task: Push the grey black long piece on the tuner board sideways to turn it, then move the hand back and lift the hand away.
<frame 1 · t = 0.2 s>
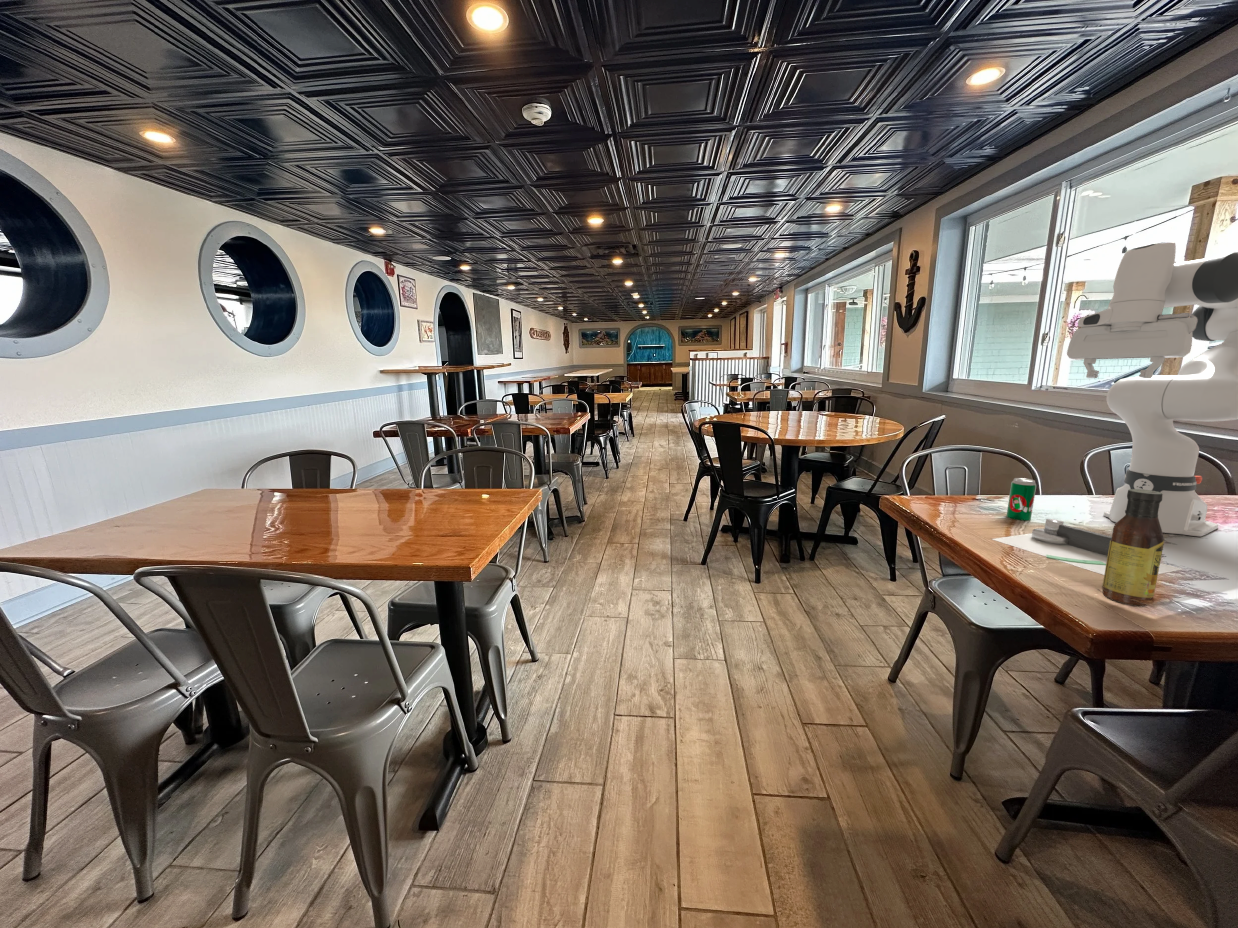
hand: (1117, 378, 110), 39 cm above the table, tool pointing down, fingers open, 8 cm apart
grey black long piece: (1075, 536, 104), point 4 cm above the table, hinge at 0.0°
soda can: (1017, 523, 127), on the table
tuner board: (1077, 559, 102), on the table
sauce bottle: (1124, 600, 84), on the table
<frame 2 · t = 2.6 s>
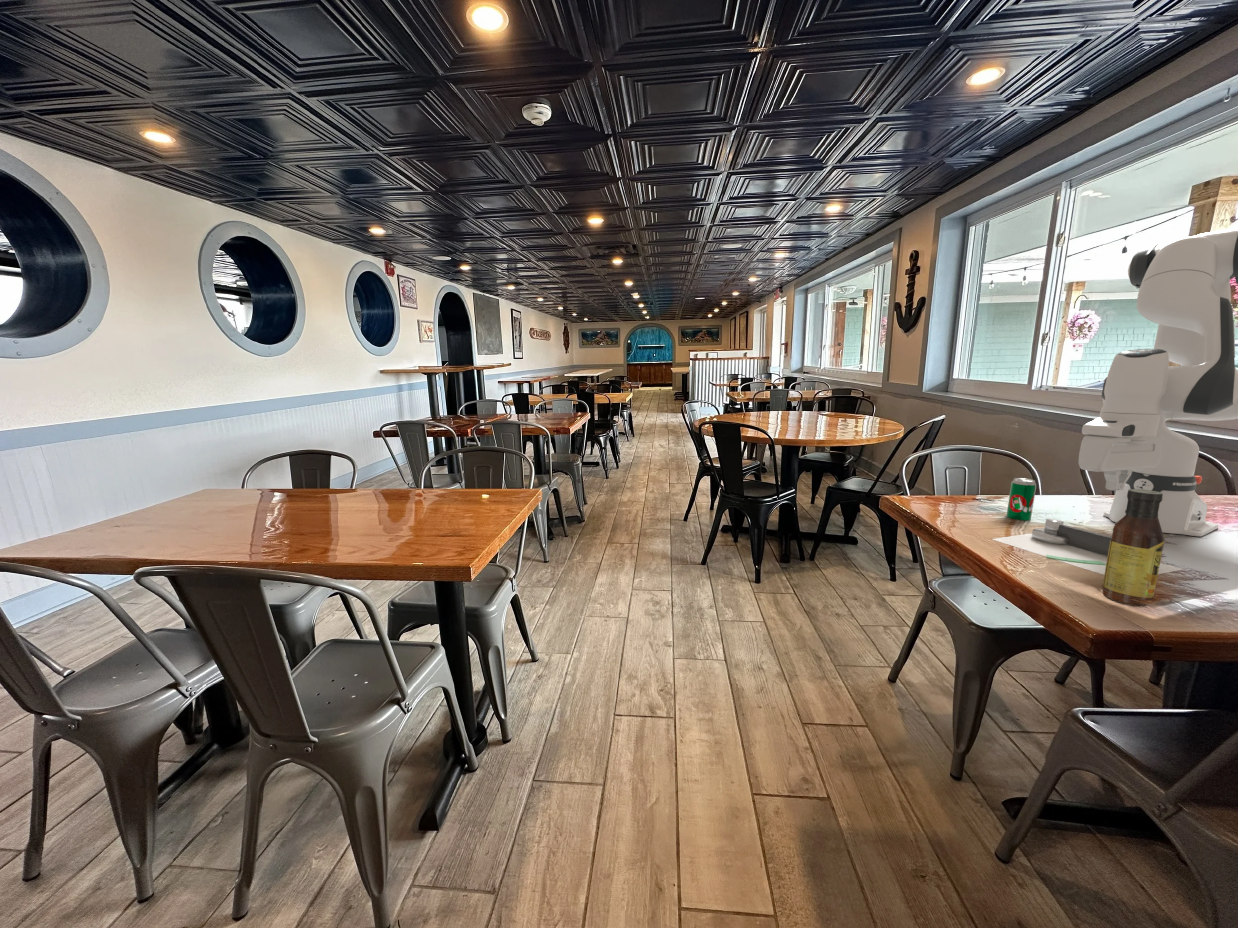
hand: (1114, 489, 103), 15 cm above the table, tool pointing down, fingers closed
nothing on the table moved.
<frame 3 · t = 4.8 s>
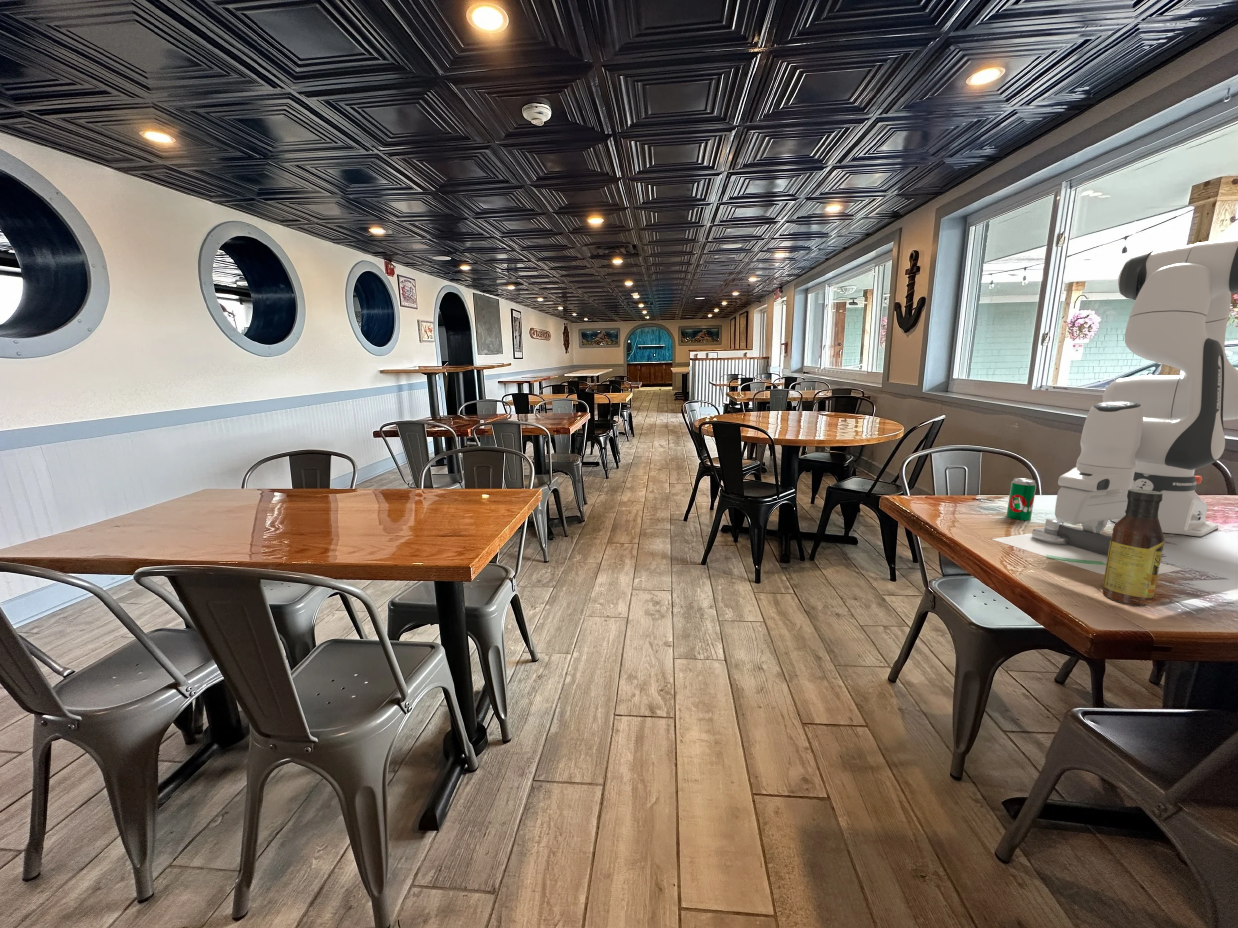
hand: (1091, 539, 103), 4 cm above the table, tool pointing down, fingers closed, pressing on grey black long piece
grey black long piece: (1075, 536, 104), point 4 cm above the table, hinge at 0.0°, touching gripper
everything else where it was.
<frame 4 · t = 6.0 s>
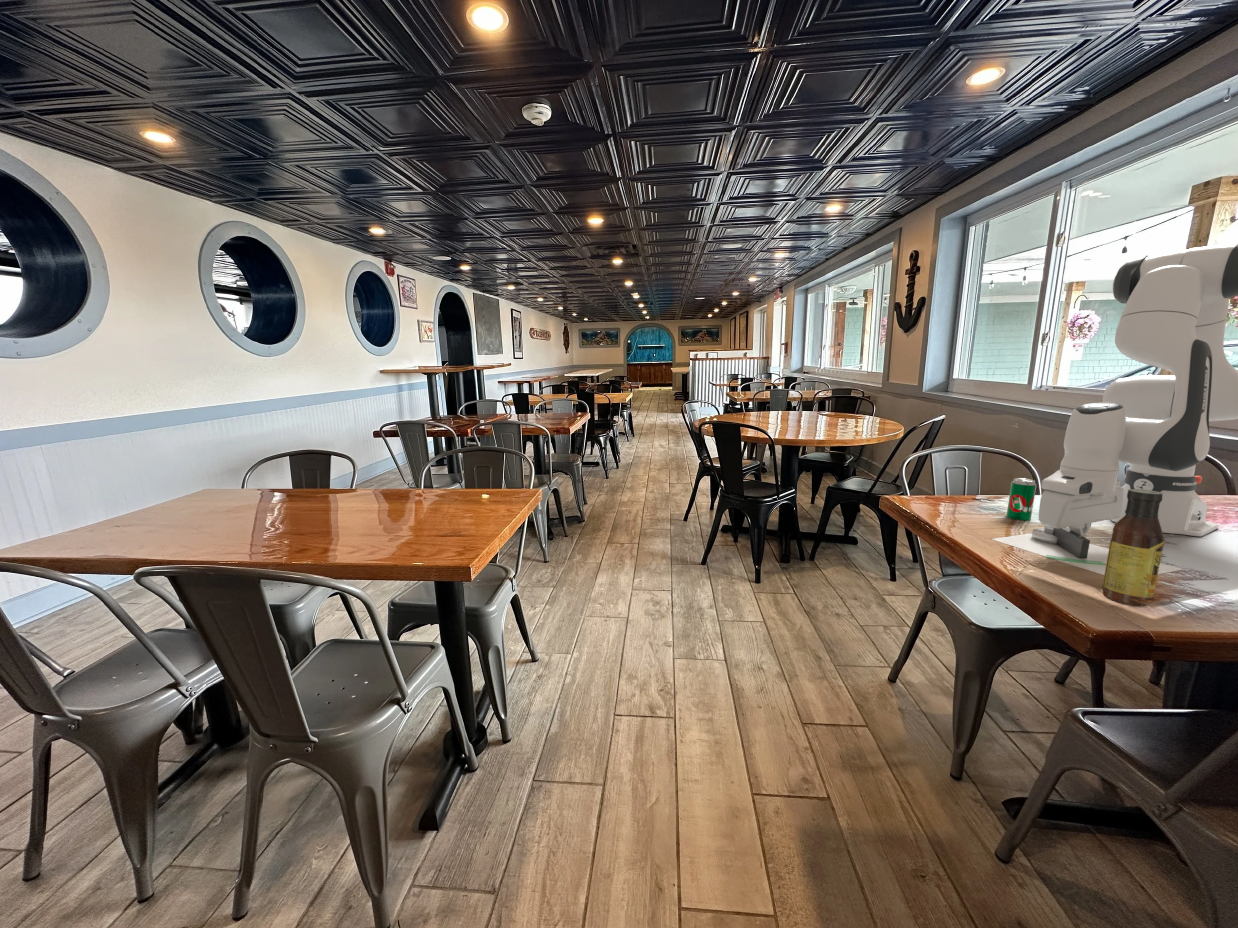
hand: (1077, 541, 103), 4 cm above the table, tool pointing down, fingers closed, pressing on grey black long piece
grey black long piece: (1063, 536, 105), point 4 cm above the table, hinge at -34.7°, touching gripper
everything else where it was.
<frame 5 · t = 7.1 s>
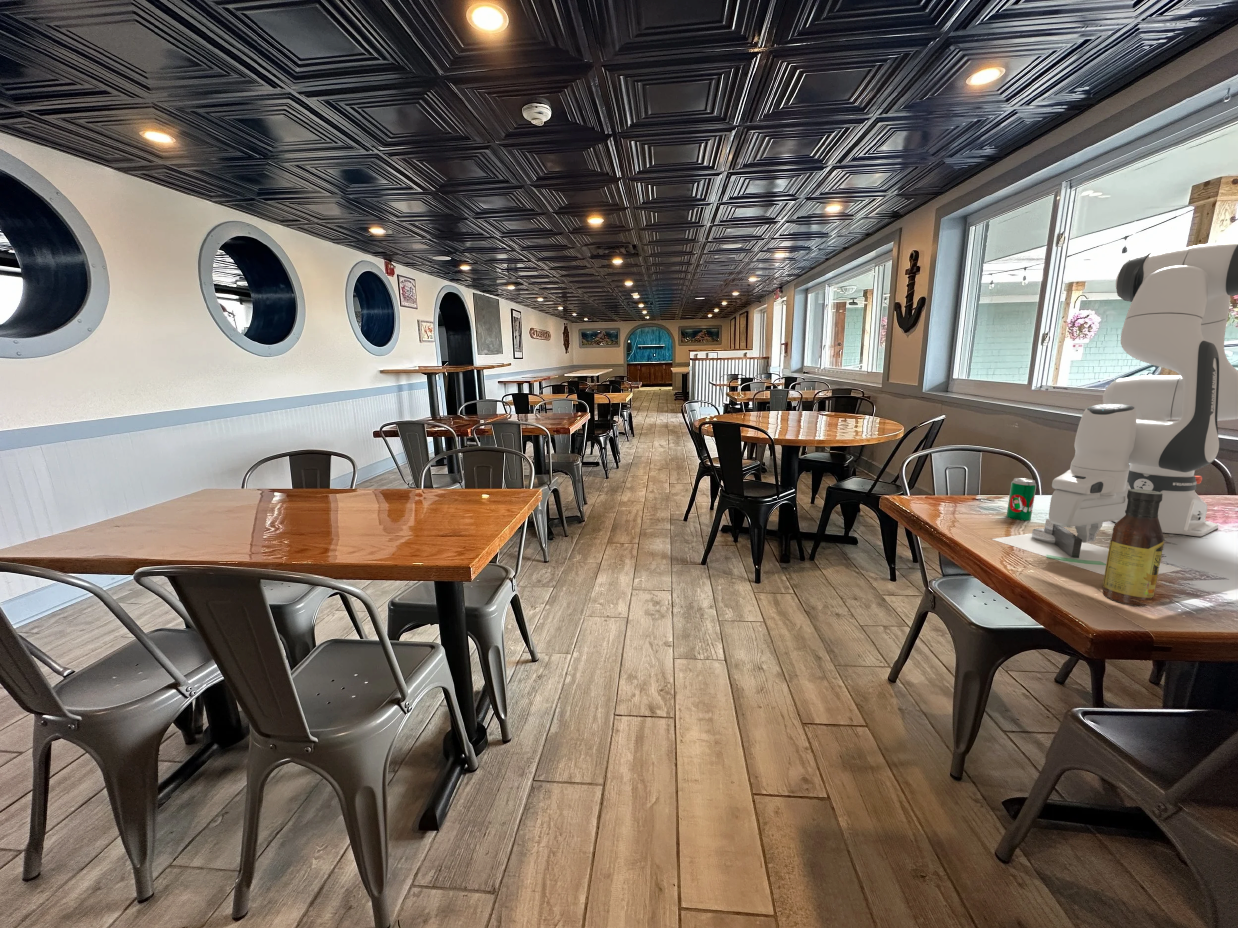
hand: (1085, 541, 103), 3 cm above the table, tool pointing down, fingers closed
grey black long piece: (1061, 535, 105), point 4 cm above the table, hinge at -40.9°
everything else where it was.
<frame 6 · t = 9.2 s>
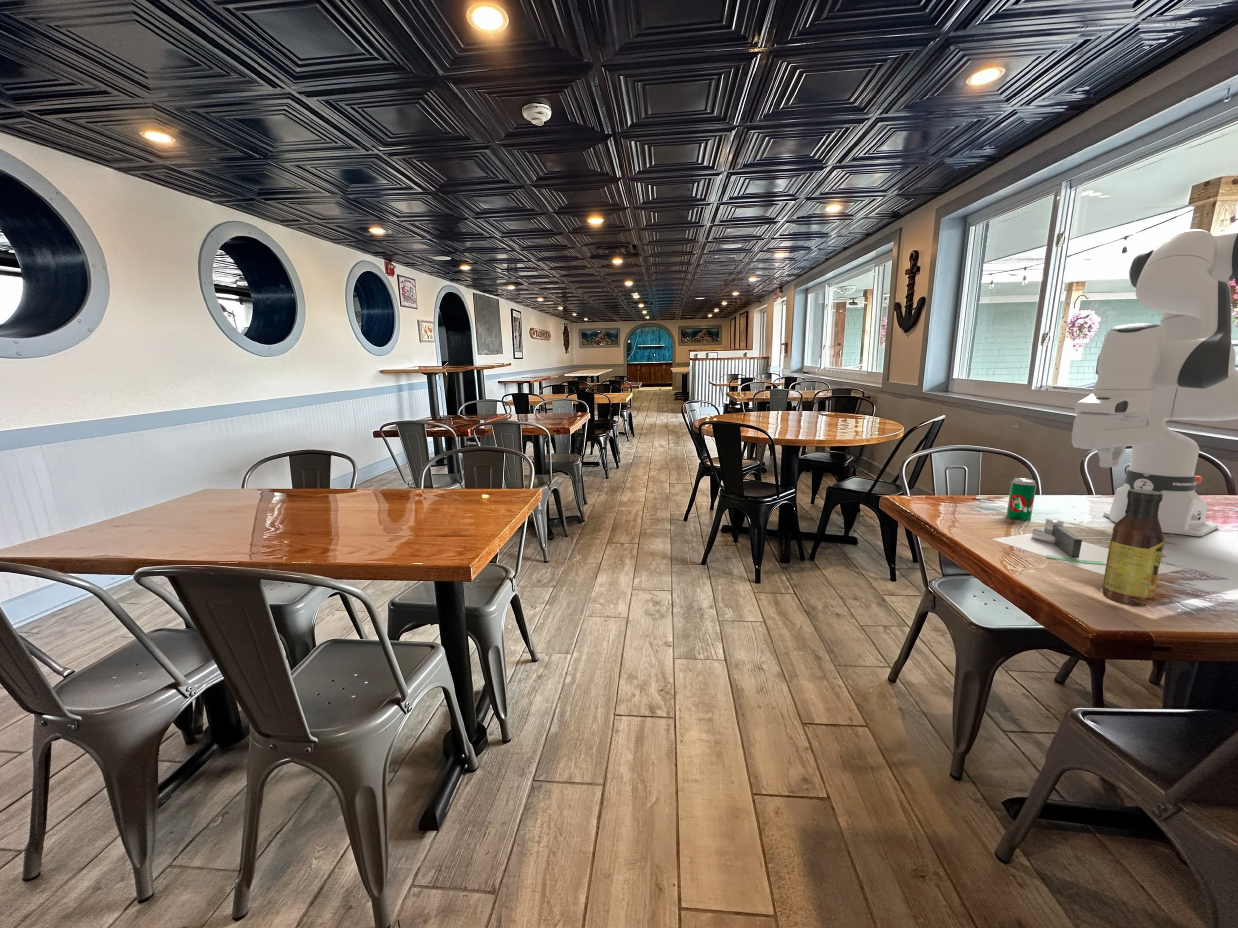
hand: (1108, 466, 102), 20 cm above the table, tool pointing down, fingers closed
nothing on the table moved.
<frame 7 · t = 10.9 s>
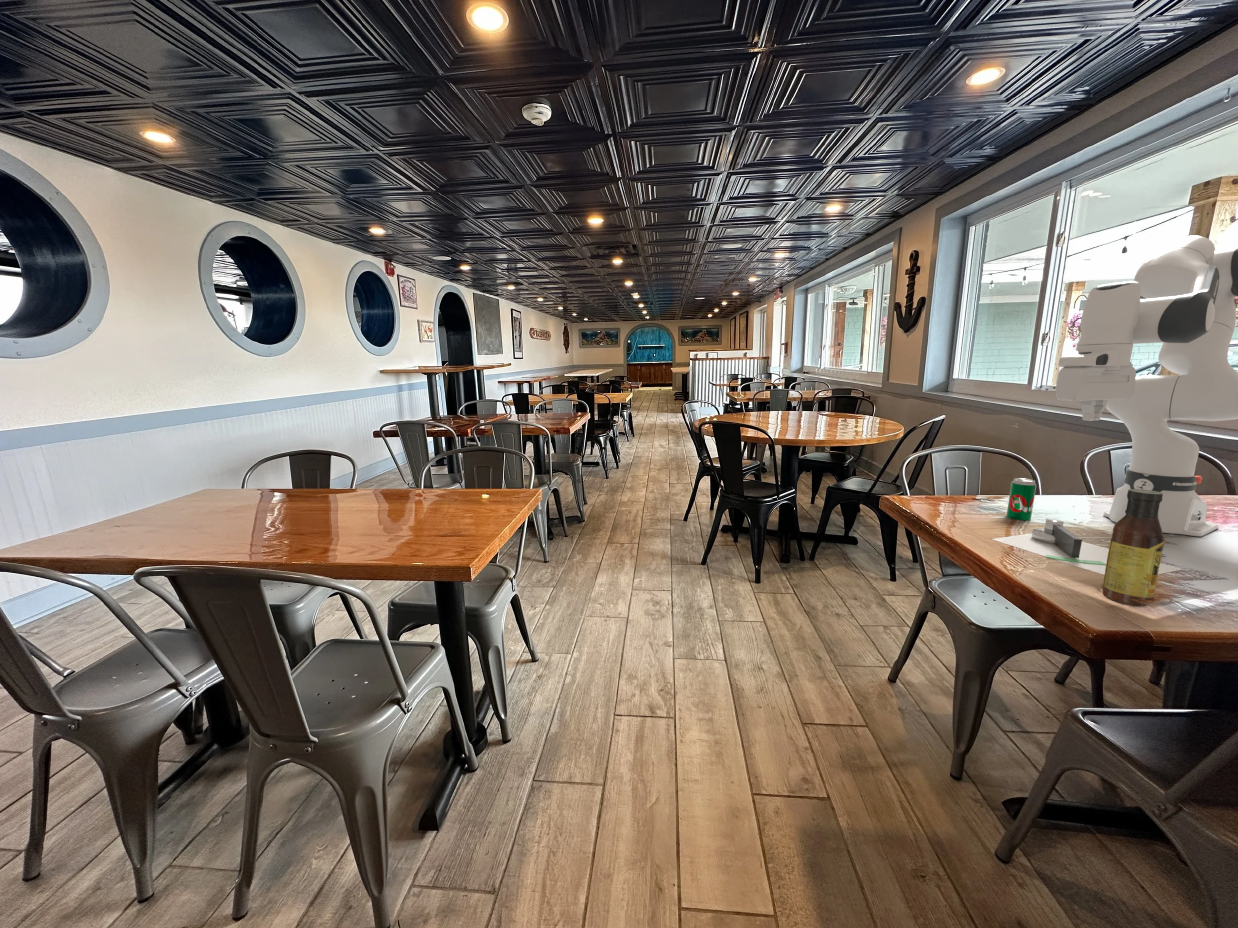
hand: (1090, 420, 107), 29 cm above the table, tool pointing down, fingers closed
nothing on the table moved.
at the end: grey black long piece at -41° (first picture: +0°) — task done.
